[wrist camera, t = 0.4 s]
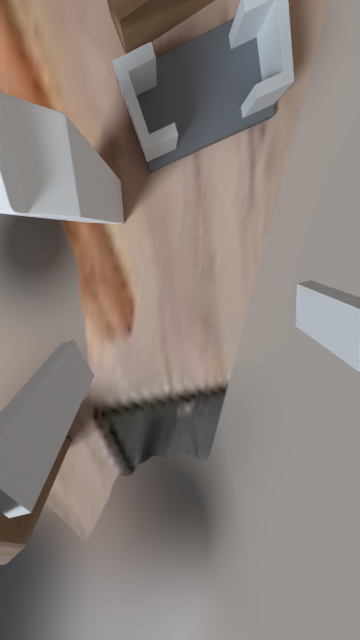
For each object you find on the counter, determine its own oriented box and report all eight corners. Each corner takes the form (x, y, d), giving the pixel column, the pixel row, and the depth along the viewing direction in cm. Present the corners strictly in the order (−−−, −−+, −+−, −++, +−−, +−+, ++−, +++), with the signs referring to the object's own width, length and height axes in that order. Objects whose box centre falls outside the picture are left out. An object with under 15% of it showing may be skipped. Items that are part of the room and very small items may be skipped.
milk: (121, 180, 29) (39, 75, 10) (124, 224, 32) (65, 214, 12) (79, 177, 29) (-101, 59, 9) (86, 223, 31) (-43, 209, 11)
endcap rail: (118, 83, 25) (107, 47, 20) (258, 13, 24) (284, -45, 19) (150, 172, 29) (148, 160, 24) (271, 117, 28) (295, 93, 23)
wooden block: (36, 424, 49) (-36, 537, 31) (73, 438, 53) (27, 547, 34) (20, 445, 52) (-55, 560, 34) (56, 457, 55) (5, 567, 37)
